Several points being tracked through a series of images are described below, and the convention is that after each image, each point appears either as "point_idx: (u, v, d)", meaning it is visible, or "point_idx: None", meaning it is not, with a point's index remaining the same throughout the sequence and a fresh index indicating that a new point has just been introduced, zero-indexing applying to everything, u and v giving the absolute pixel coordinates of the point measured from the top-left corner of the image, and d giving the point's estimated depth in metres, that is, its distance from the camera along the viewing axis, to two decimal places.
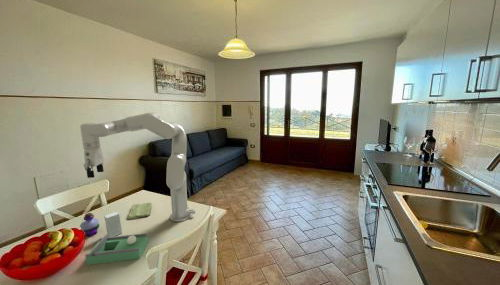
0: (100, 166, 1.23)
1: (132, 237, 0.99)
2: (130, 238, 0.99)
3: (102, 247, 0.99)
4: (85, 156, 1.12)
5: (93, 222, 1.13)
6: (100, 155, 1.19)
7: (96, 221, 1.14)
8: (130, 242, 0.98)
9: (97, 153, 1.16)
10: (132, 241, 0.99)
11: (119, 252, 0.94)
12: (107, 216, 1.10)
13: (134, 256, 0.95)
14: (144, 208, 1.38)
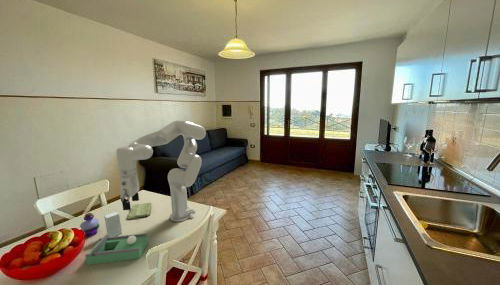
0: (135, 194, 1.07)
1: (132, 237, 0.99)
2: (130, 238, 0.99)
3: (102, 247, 0.99)
4: (121, 185, 0.96)
5: (93, 222, 1.13)
6: (136, 182, 1.03)
7: (96, 221, 1.14)
8: (130, 242, 0.98)
9: (134, 181, 1.00)
10: (132, 241, 0.99)
11: (119, 252, 0.94)
12: (107, 216, 1.10)
13: (134, 256, 0.95)
14: (144, 208, 1.38)
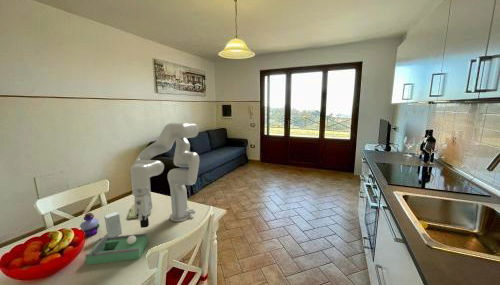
0: None
1: (132, 237, 0.99)
2: (130, 238, 0.99)
3: (102, 247, 0.99)
4: (136, 205, 0.92)
5: (93, 222, 1.13)
6: (150, 200, 0.99)
7: (96, 221, 1.14)
8: (130, 242, 0.98)
9: (148, 199, 0.97)
10: (132, 241, 0.99)
11: (119, 252, 0.94)
12: (107, 216, 1.10)
13: (134, 256, 0.95)
14: None
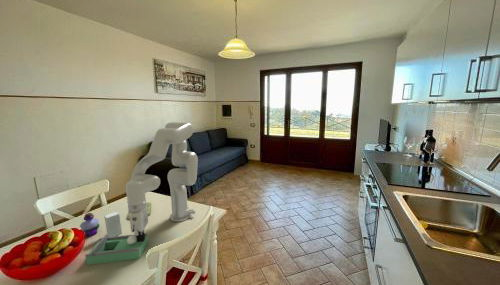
0: None
1: (132, 237, 0.99)
2: (130, 238, 0.99)
3: (102, 247, 0.99)
4: (131, 221, 0.94)
5: (93, 222, 1.13)
6: (145, 215, 1.00)
7: (96, 221, 1.14)
8: (130, 242, 0.98)
9: (143, 215, 0.98)
10: (132, 241, 0.99)
11: (119, 252, 0.94)
12: (107, 216, 1.10)
13: (134, 256, 0.95)
14: None
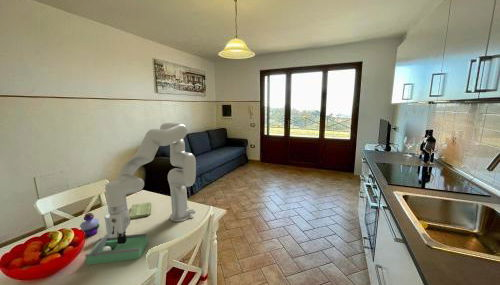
0: None
1: (107, 248, 0.97)
2: (105, 249, 0.97)
3: (102, 247, 0.99)
4: (111, 223, 0.92)
5: (93, 222, 1.13)
6: (127, 217, 0.99)
7: (96, 221, 1.14)
8: None
9: (124, 216, 0.96)
10: None
11: (119, 252, 0.94)
12: (107, 216, 1.10)
13: (134, 256, 0.95)
14: (144, 208, 1.38)
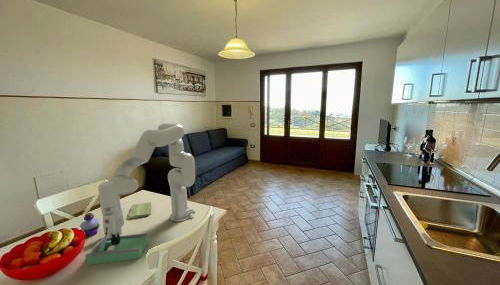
0: None
1: None
2: None
3: (102, 247, 0.99)
4: (104, 224, 0.92)
5: (93, 222, 1.13)
6: (120, 217, 0.99)
7: (96, 221, 1.14)
8: None
9: (118, 217, 0.96)
10: None
11: (119, 252, 0.94)
12: None
13: (134, 256, 0.95)
14: (144, 208, 1.38)
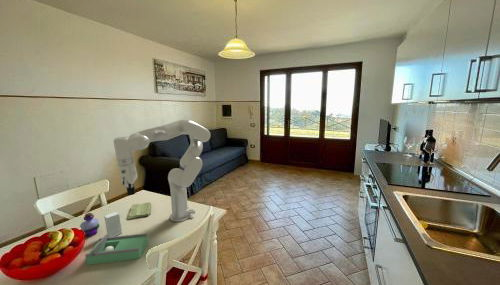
0: None
1: (112, 249, 0.98)
2: (110, 249, 0.97)
3: (102, 247, 0.99)
4: (121, 174, 1.02)
5: (93, 222, 1.13)
6: (134, 170, 1.09)
7: (96, 221, 1.14)
8: None
9: (132, 169, 1.06)
10: None
11: (119, 252, 0.94)
12: (107, 216, 1.10)
13: (134, 256, 0.95)
14: (144, 208, 1.38)
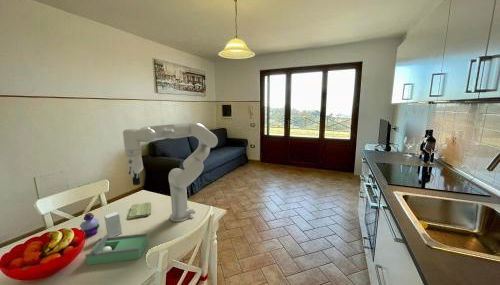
0: None
1: (108, 248, 0.97)
2: (106, 249, 0.97)
3: (102, 247, 0.99)
4: (128, 163, 1.07)
5: (93, 222, 1.13)
6: (140, 162, 1.14)
7: (96, 221, 1.14)
8: None
9: (139, 160, 1.11)
10: None
11: (119, 252, 0.94)
12: (107, 216, 1.10)
13: (134, 256, 0.95)
14: (144, 208, 1.38)
